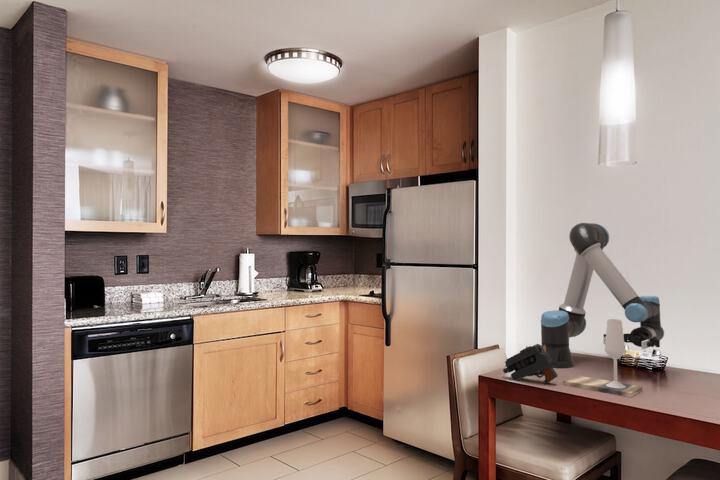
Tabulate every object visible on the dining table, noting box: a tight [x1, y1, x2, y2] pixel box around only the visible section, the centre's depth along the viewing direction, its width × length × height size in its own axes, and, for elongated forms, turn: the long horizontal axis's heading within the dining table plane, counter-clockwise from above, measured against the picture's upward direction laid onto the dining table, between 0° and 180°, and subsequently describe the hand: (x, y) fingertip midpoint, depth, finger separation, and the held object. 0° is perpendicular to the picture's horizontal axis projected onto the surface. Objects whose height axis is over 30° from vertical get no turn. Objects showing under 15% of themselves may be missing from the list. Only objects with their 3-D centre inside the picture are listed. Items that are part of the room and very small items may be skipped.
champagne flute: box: [604, 318, 626, 388], centre depth 188 cm, size 7×7×24 cm
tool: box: [502, 343, 559, 385], centre depth 202 cm, size 6×19×15 cm
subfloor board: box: [562, 374, 643, 398], centre depth 191 cm, size 24×12×2 cm, turn 44°
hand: (623, 343), depth 194 cm, fingers open, 13 cm apart
